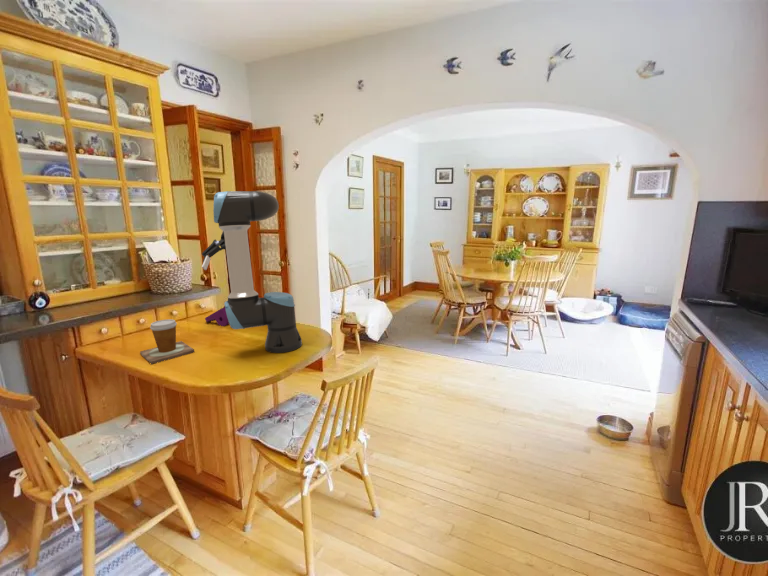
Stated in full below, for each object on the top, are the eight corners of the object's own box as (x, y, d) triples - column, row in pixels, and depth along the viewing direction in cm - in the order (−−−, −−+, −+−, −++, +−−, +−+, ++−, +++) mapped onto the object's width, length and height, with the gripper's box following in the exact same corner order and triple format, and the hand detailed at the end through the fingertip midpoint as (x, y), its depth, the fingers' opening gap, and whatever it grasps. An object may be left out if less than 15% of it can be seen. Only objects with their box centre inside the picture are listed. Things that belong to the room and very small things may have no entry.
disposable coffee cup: (179, 344, 161) (175, 317, 158) (181, 350, 153) (177, 323, 150) (153, 349, 156) (149, 321, 153) (154, 356, 148) (149, 327, 145)
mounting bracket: (208, 334, 195) (228, 323, 187) (201, 320, 195) (221, 308, 187) (222, 329, 203) (242, 318, 195) (215, 315, 203) (235, 303, 195)
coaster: (194, 352, 154) (194, 349, 154) (151, 364, 143) (150, 361, 143) (181, 343, 165) (181, 340, 165) (140, 354, 154) (139, 351, 154)
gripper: (257, 237, 184) (245, 272, 172) (211, 238, 187) (197, 273, 176) (251, 227, 177) (238, 263, 166) (203, 228, 181) (188, 263, 170)
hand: (217, 268), depth 171 cm, fingers open, 13 cm apart
